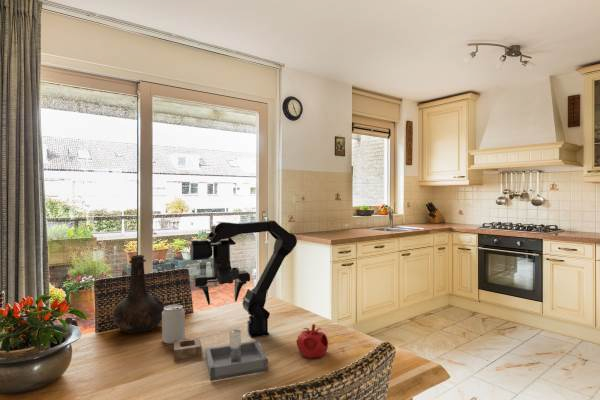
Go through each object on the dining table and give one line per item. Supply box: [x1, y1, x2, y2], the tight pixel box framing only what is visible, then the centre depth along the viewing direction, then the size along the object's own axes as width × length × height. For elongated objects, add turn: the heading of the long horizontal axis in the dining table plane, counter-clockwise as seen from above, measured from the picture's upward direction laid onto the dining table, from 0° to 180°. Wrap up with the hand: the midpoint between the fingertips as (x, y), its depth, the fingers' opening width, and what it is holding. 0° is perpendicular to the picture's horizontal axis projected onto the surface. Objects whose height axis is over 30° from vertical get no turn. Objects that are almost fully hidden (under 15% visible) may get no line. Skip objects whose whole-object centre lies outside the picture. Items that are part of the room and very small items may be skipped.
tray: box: [205, 340, 269, 382], centre depth 109 cm, size 16×14×4 cm
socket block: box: [173, 336, 203, 361], centre depth 117 cm, size 8×8×4 cm
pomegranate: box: [295, 323, 329, 359], centre depth 116 cm, size 10×10×9 cm
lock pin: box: [229, 329, 242, 363], centre depth 109 cm, size 3×3×9 cm
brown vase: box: [112, 254, 165, 334], centre depth 139 cm, size 18×18×28 cm
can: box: [161, 304, 186, 345], centre depth 128 cm, size 8×8×12 cm
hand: (222, 303), depth 128 cm, fingers open, 9 cm apart
